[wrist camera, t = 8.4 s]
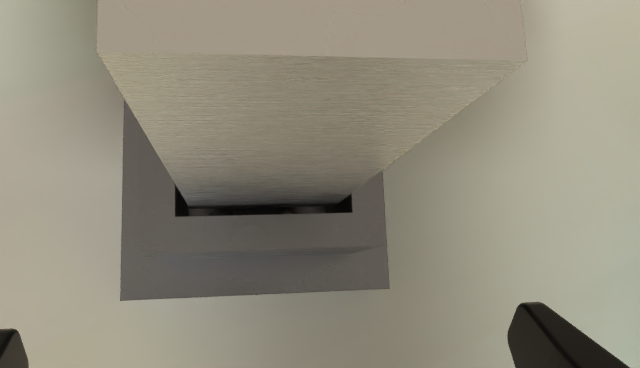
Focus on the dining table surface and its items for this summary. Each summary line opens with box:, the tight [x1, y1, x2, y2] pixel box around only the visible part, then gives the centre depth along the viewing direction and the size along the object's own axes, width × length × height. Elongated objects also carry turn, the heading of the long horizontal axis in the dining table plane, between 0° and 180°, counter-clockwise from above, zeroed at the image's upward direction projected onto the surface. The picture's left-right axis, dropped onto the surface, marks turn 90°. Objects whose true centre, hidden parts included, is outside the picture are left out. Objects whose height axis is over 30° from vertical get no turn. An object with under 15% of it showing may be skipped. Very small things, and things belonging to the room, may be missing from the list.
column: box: [96, 0, 527, 209], centre depth 12 cm, size 5×4×12 cm
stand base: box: [120, 99, 390, 301], centre depth 19 cm, size 10×10×8 cm
